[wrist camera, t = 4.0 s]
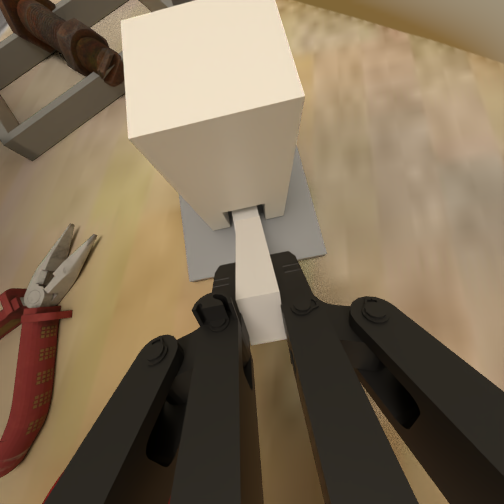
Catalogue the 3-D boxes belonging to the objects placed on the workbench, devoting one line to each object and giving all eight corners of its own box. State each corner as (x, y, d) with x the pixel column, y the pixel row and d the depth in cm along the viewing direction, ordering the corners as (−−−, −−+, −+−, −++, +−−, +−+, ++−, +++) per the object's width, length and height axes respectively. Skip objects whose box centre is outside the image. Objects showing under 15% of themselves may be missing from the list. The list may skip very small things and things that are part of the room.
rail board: (323, 255, 17) (367, 226, 10) (193, 282, 18) (135, 274, 10) (264, 42, 23) (262, -87, 15) (166, 67, 24) (115, -44, 16)
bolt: (133, 107, 25) (57, 56, 27) (144, 61, 23) (61, 10, 25) (80, 82, 19) (-8, 21, 22) (89, 19, 17) (-10, -41, 20)
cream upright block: (283, 215, 17) (304, 96, 7) (213, 230, 18) (128, 138, 7) (269, 157, 19) (268, -21, 8) (203, 172, 19) (120, 20, 8)
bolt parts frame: (-12, 91, 25) (-42, 70, 23) (136, -12, 27) (123, -42, 24) (32, 161, 23) (3, 145, 20) (195, 40, 24) (187, 12, 22)
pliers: (139, 252, 20) (120, 247, 17) (27, 468, 17) (-17, 500, 14) (53, 214, 21) (24, 203, 19) (-62, 402, 18) (-115, 419, 16)
